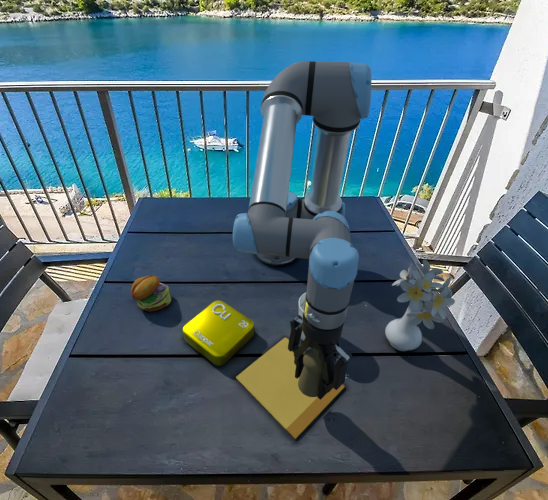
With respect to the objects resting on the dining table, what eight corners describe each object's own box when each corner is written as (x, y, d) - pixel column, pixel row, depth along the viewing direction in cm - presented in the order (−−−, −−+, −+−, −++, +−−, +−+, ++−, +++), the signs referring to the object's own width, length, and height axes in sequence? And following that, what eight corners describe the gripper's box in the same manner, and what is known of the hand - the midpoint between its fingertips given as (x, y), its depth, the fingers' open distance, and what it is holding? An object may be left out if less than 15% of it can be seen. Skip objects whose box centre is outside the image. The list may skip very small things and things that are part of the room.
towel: (285, 338, 97) (285, 336, 96) (344, 387, 85) (345, 386, 85) (235, 378, 87) (235, 376, 87) (295, 439, 75) (295, 438, 75)
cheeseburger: (165, 316, 102) (151, 292, 97) (134, 317, 106) (119, 293, 100) (178, 292, 110) (165, 268, 104) (149, 293, 113) (135, 270, 108)
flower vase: (383, 371, 88) (410, 304, 73) (372, 316, 103) (393, 249, 87) (436, 377, 87) (476, 310, 72) (418, 320, 101) (448, 253, 86)
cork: (295, 373, 81) (299, 344, 74) (321, 371, 81) (327, 342, 74) (300, 398, 76) (304, 369, 69) (327, 396, 76) (334, 367, 69)
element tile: (180, 338, 96) (178, 327, 93) (218, 307, 105) (217, 296, 102) (219, 369, 89) (218, 358, 86) (257, 333, 98) (257, 321, 95)
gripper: (272, 297, 67) (269, 366, 82) (355, 360, 56) (335, 427, 71) (298, 279, 71) (291, 348, 86) (380, 335, 60) (356, 403, 75)
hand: (311, 384), depth 78 cm, fingers closed on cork, 6 cm apart
